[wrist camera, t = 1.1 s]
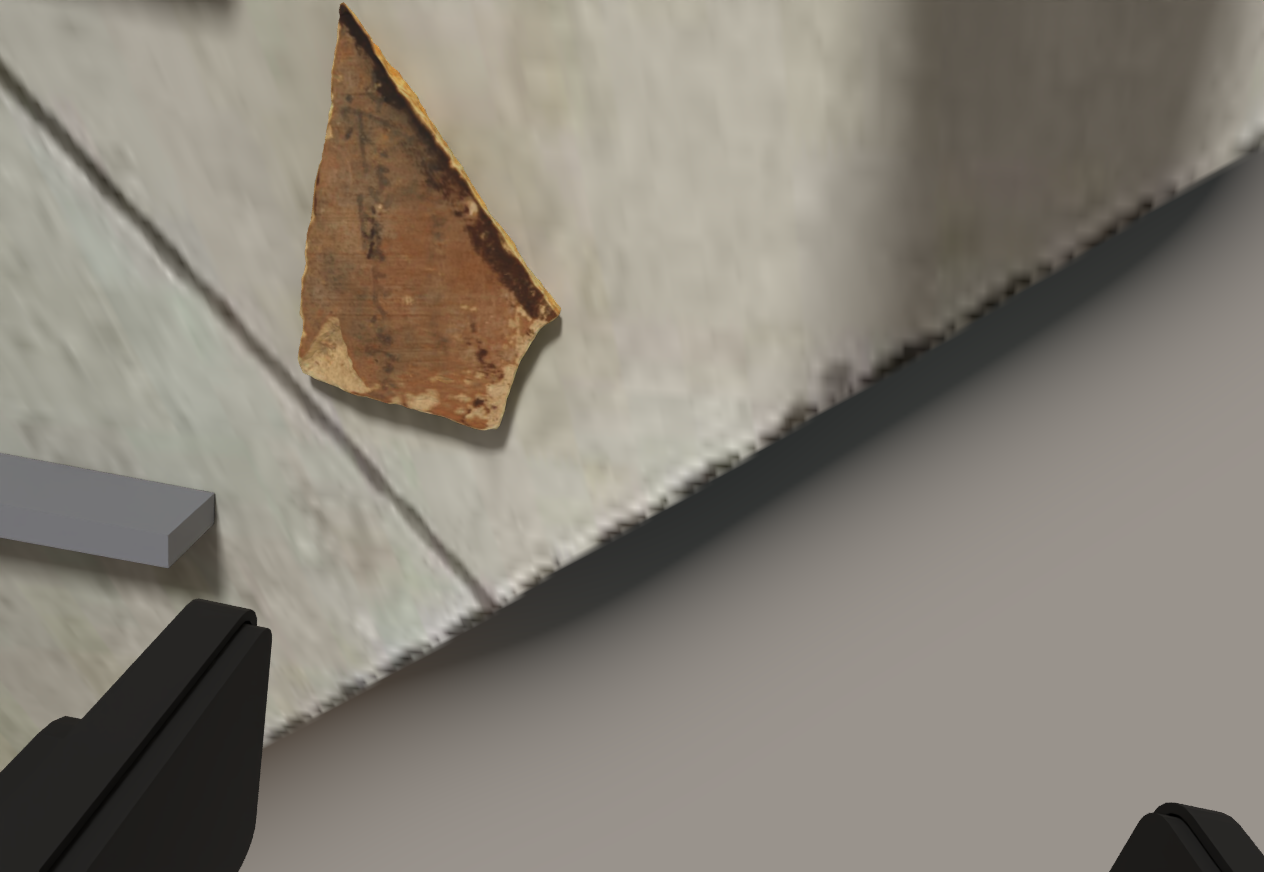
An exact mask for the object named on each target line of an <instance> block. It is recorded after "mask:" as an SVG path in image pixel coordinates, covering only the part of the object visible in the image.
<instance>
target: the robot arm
mask: <svg viewBox="0 0 1264 872" xmlns="http://www.w3.org/2000/svg"><path fill="white" fill-rule="evenodd" d="M271 645H272V633H271V630H270V629H268V628H264V627H259V626H257V617H256V614H255V612H254V611H253V610H251V609H246V608H241V607H237V606H232V605H227V604H222V603H217V602H213V601H208V600H203V599H195V600H192V601H191V602H190V603H189V604H188V605H186V606H185V608H184V609H183V610H182V611H181V612H180V613H179V614H178V615H177V616H176V617H175V618H174V619H173V621H172V622H171V623H170V624H169V625H168V626H167V627H166V628H165V629H164V630H163V631H162V632H161V634H160V635H159V636H158V637H157V638H156V639H155V640H154V641H153V642H152V643H151V644H150V646H149V647H148V648H147V649H146V650H145V651H144V652H143V653H142V654H141V655H140V656H139V657H138V659H137V660H136V661H135V662H134V663H133V664H132V665H131V666H130V667H129V668H128V669H127V670H126V672H125V673H124V674H123V675H122V676H121V677H120V678H119V679H118V680H117V681H116V682H115V684H114V685H113V686H112V687H111V688H110V689H109V690H108V691H107V692H106V693H105V694H104V695H103V697H102V698H101V699H100V700H99V701H98V702H97V703H96V704H95V705H94V706H93V707H92V708H91V710H90V711H89V712H88V713H87V714H86V715H85V716H84V717H83V718H82V719H78V718H73V717H68V716H64V717H62V718H59V719H57V720H55V721H52V722H51V723H50V724H49V725H48V726H47V727H45V728H44V729H43V730H42V731H41V732H39V733H38V734H37V735H36V736H35V737H34V738H33V739H32V740H31V741H30V742H29V744H28V745H27V746H26V747H25V748H24V749H23V750H22V751H21V752H20V753H19V754H18V755H17V756H16V757H15V758H14V759H13V760H12V761H11V762H10V763H9V764H8V765H7V766H6V767H5V768H4V769H3V770H2V771H1V772H0V872H238V871H239V869H240V867H241V866H242V863H243V861H244V859H245V857H246V855H247V852H248V850H249V847H250V844H251V841H252V838H253V834H254V830H255V824H256V815H257V802H258V792H259V781H260V769H261V758H262V747H263V736H264V724H265V713H266V702H267V691H268V679H269V668H270V657H271ZM1109 872H1264V855H1263V854H1262V853H1261V851H1260V850H1259V849H1258V848H1257V846H1256V845H1255V844H1254V842H1253V841H1252V840H1251V839H1250V837H1249V836H1248V835H1247V834H1246V832H1245V831H1244V830H1243V828H1242V827H1241V826H1240V825H1239V824H1238V823H1237V822H1236V821H1235V820H1234V819H1233V818H1232V817H1230V816H1228V815H1226V814H1224V813H1222V812H1217V811H1212V810H1207V809H1203V808H1197V807H1193V806H1188V805H1183V804H1179V803H1165V804H1163V805H1161V806H1159V807H1158V808H1157V809H1156V810H1155V811H1154V813H1149V814H1147V815H1145V816H1143V818H1142V819H1141V820H1140V821H1139V823H1138V824H1137V826H1136V828H1135V829H1134V831H1133V833H1132V834H1131V836H1130V838H1129V840H1128V841H1127V843H1126V845H1125V846H1124V848H1123V850H1122V851H1121V853H1120V855H1119V856H1118V858H1117V860H1116V861H1115V863H1114V865H1113V866H1112V868H1111V870H1110V871H1109Z"/></svg>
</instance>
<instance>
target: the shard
mask: <svg viewBox="0 0 1264 872" xmlns="http://www.w3.org/2000/svg"><path fill="white" fill-rule="evenodd" d="M339 13H340V18H339V23H338V29H337V44H336V48H335V53H334V61H333V66H332V71H331V74H332V78H331V101H332V104H331V108H330V111H329V120H328V125H327V131H326V137H325V144H324V149H323V153H322V160H321V162H320V165H319V168H318V173H317V176H316V180H315V187H314V196H313V208H312V216H311V222H310V225H309V228H308V232H307V240H306V249H305V259H306V265H305V270H304V274H303V276H302V279H301V281H302V291H301V306H300V315H301V317H302V319H303V332H302V337H301V342H300V347H299V354H298V361H299V364H300V366H301V369H302V371H303V373H305V374H307V375H310V376H311V377H313V378H314V379H316V380H319V381H322V382H326V383H328V384H330V385H333V386H336V387H339V388H340V389H342V390H344V391H346V392H348V393H351V394H354V395H357V396H362V397H367V398H371V399H375V400H378V401H382V402H385V403H388V404H399V405H402V406H404V407H406V408H409V409H414V410H418V411H420V412H425V413H429V414H433V415H437V416H441V417H445V418H448V419H450V420H452V421H454V422H457V423H459V424H462V425H465V426H468V427H471V428H473V429H478V430H489V429H497V428H498V427H499V426H500V423H501V420H502V417H503V414H504V412H505V406H506V401H507V397H508V395H509V392H510V389H511V386H512V384H513V381H514V378H515V374H516V372H517V369H518V366H519V363H520V361H521V359H522V358H523V356H524V355H525V353H526V351H527V349H528V348H529V346H530V344H531V342H532V341H533V340H534V339H535V337H536V335H537V333H538V332H539V330H540V329H541V328H542V327H543V326H545V325H546V324H548V323H550V322H552V321H553V320H554V319H556V318H557V317H558V316H559V314H560V311H561V308H560V307H559V305H558V304H557V303H556V302H555V300H554V299H553V298H552V296H551V295H550V294H549V293H548V292H547V291H546V289H545V288H544V287H543V285H542V283H541V282H540V281H539V280H538V279H537V278H536V277H535V276H534V274H533V273H532V272H531V271H530V269H529V268H528V267H527V266H526V264H525V262H524V260H523V259H522V257H521V256H520V254H519V253H518V251H517V248H516V246H515V244H514V242H513V241H512V240H511V238H510V237H509V236H508V235H507V234H506V232H505V231H504V230H503V228H502V227H501V226H500V225H499V224H498V223H497V222H496V220H495V219H494V218H493V217H492V216H491V215H490V213H489V212H488V210H487V207H486V205H485V203H484V202H483V200H482V199H481V197H480V196H479V194H478V193H477V191H476V189H475V188H474V186H473V185H472V184H471V182H470V180H469V178H468V176H467V174H466V173H465V171H464V169H463V167H462V166H461V164H460V163H459V162H458V160H457V159H456V158H455V157H454V155H453V153H452V151H451V150H450V149H449V147H448V145H447V143H446V142H445V141H444V140H443V138H442V137H441V135H440V133H439V132H438V130H437V128H436V126H435V125H434V124H433V123H432V122H431V121H430V119H429V118H428V116H427V114H426V111H425V109H424V108H423V106H422V105H421V104H420V101H419V99H418V97H417V95H416V94H415V93H414V92H413V91H412V90H411V88H410V87H409V85H408V84H407V83H406V82H405V81H404V80H403V78H402V76H401V75H400V73H399V72H398V71H397V70H396V69H394V68H393V67H392V66H391V65H390V64H389V63H388V61H387V60H386V59H385V57H384V56H383V54H382V52H381V50H380V49H379V47H378V46H377V45H375V44H374V43H373V41H372V38H371V37H370V36H369V34H368V33H367V31H366V30H365V29H364V27H363V26H362V24H361V23H360V21H359V20H358V18H357V17H356V15H355V14H354V13H353V12H352V11H351V10H350V9H349V8H348V6H347V5H346V4H345V3H344V2H343V3H341V4H340V9H339Z"/></svg>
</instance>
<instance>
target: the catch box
mask: <svg viewBox="0 0 1264 872" xmlns="http://www.w3.org/2000/svg"><path fill="white" fill-rule="evenodd" d="M213 524H214V493H211V492H206V491H201V490H195V489H190V488H185V487H179V486H174V485H169V484H163V483H158V482H153V481H147V480H142V479H136V478H131V477H126V476H120V475H115V474H110V473H104V472H99V471H94V470H88V469H83V468H78V467H72V466H67V465H61V464H56V463H51V462H45V461H40V460H35V459H29V458H24V457H19V456H13V455H8V454H3V453H0V538H6V539H11V540H17V541H22V542H28V543H33V544H38V545H44V546H49V547H55V548H60V549H66V550H71V551H77V552H82V553H88V554H93V555H99V556H104V557H110V558H115V559H121V560H126V561H132V562H137V563H142V564H148V565H153V566H159V567H164V568H169V567H170V566H171V565H172V564H173V563H174V562H175V561H176V560H177V559H178V558H179V557H180V556H181V555H182V554H183V553H184V552H185V551H187V550H188V549H189V548H190V547H191V546H192V545H193V544H194V543H195V542H196V541H197V540H198V539H199V538H200V537H201V536H202V535H203V534H204V533H205V532H206V531H207V530H208V529H209V528H210V527H211V526H212V525H213Z"/></svg>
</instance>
